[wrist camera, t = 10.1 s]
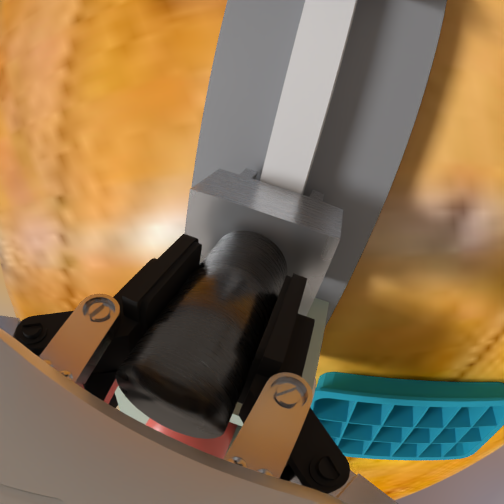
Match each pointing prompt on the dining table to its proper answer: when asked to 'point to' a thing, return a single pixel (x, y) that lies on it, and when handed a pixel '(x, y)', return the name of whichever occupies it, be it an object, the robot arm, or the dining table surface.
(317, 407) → the ice cube tray
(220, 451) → the button
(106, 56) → the dining table surface
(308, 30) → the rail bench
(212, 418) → the carriage
